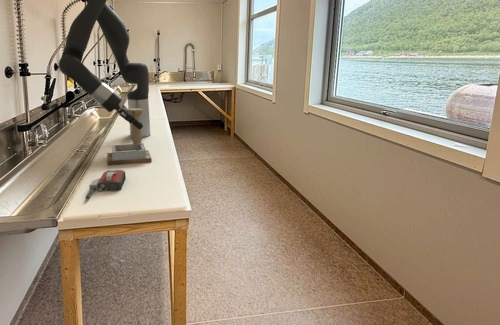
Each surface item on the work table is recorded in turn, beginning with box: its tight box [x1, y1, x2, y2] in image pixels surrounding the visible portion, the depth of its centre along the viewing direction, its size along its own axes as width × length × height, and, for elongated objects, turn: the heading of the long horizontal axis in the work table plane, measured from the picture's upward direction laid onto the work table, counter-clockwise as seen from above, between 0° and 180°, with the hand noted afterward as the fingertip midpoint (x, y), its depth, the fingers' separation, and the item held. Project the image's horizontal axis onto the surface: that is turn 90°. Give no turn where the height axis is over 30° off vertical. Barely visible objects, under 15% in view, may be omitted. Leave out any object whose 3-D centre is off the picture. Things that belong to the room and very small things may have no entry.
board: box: [106, 149, 153, 166], centre depth 140 cm, size 12×15×2 cm
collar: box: [111, 142, 147, 161], centre depth 139 cm, size 11×11×3 cm
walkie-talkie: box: [85, 169, 126, 200], centre depth 110 cm, size 9×4×20 cm
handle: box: [127, 108, 143, 144], centre depth 151 cm, size 5×6×15 cm
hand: (141, 126), depth 152 cm, fingers closed on handle, 3 cm apart
